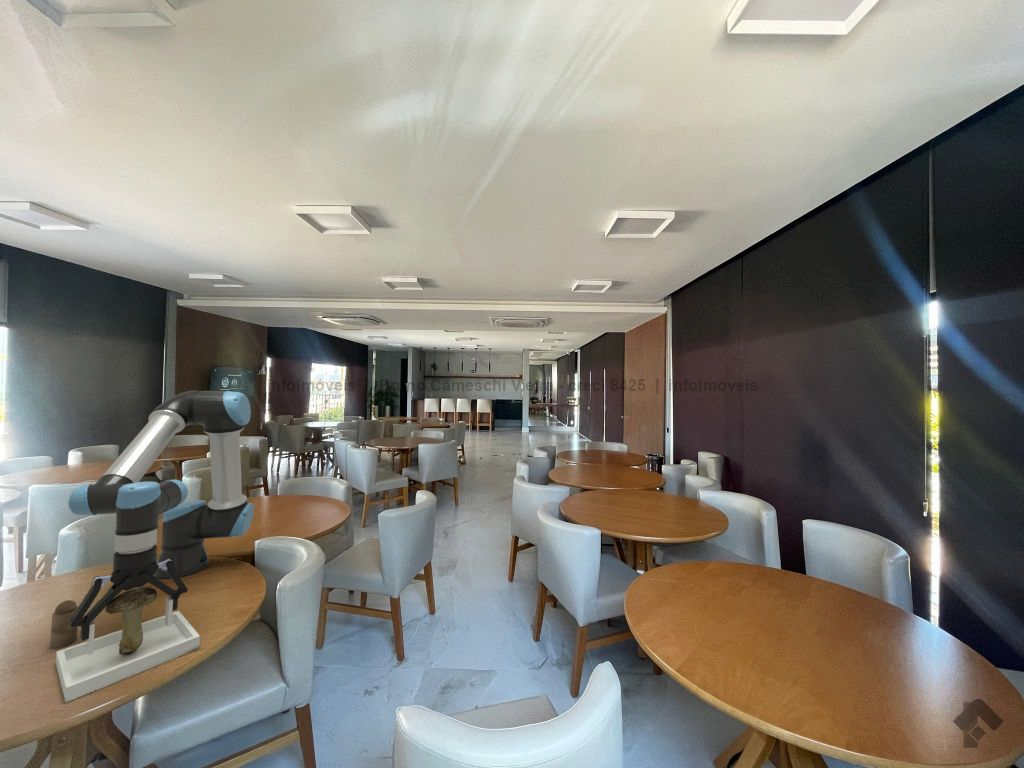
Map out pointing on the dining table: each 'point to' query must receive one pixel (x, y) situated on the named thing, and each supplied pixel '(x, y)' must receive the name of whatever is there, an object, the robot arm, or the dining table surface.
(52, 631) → the pepper mill
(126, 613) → the mushroom
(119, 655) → the tray
